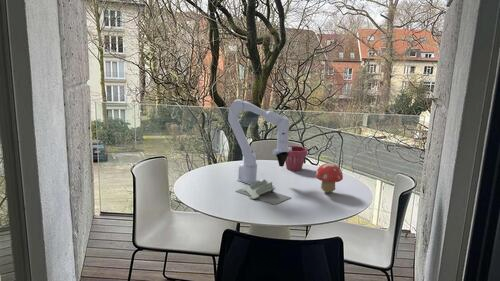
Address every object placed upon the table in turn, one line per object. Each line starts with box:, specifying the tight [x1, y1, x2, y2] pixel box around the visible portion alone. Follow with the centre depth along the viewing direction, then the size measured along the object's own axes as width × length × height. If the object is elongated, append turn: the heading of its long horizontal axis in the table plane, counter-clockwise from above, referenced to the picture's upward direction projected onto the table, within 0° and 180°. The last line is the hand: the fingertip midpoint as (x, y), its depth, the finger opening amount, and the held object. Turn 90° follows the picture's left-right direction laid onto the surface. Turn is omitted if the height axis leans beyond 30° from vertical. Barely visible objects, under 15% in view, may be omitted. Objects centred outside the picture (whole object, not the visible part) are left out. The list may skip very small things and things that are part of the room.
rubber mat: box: [235, 185, 292, 206], centre depth 180 cm, size 24×13×1 cm, turn 49°
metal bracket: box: [242, 179, 276, 200], centre depth 181 cm, size 14×6×15 cm
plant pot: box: [284, 145, 308, 172], centre depth 225 cm, size 14×14×13 cm
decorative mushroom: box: [315, 162, 344, 194], centre depth 185 cm, size 13×13×15 cm
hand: (281, 166), depth 197 cm, fingers closed
